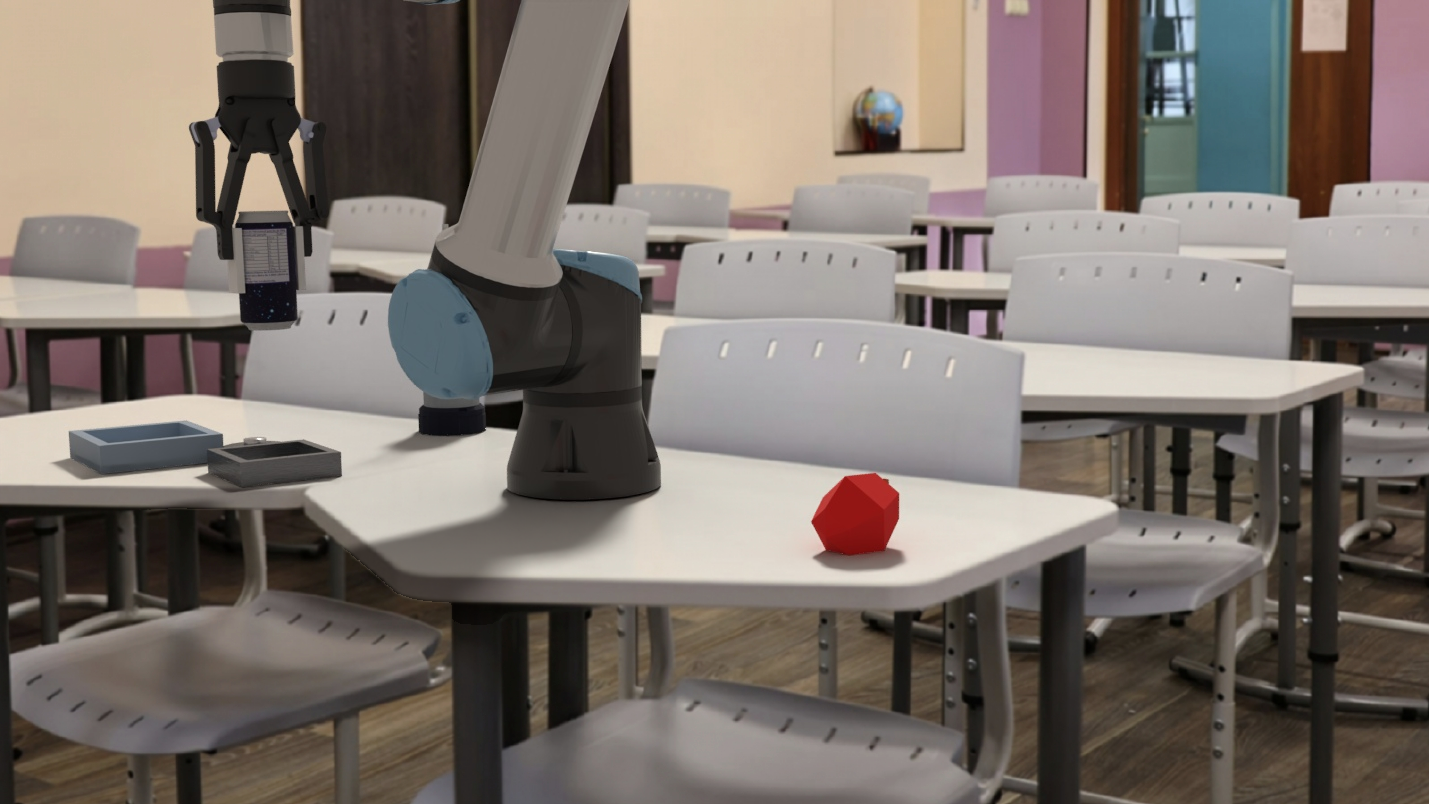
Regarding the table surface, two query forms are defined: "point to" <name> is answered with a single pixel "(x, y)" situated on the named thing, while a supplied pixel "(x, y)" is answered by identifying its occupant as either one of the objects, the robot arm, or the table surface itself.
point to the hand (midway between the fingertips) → (267, 290)
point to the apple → (857, 515)
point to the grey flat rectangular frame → (273, 462)
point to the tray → (143, 446)
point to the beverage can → (268, 270)
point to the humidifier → (451, 414)
